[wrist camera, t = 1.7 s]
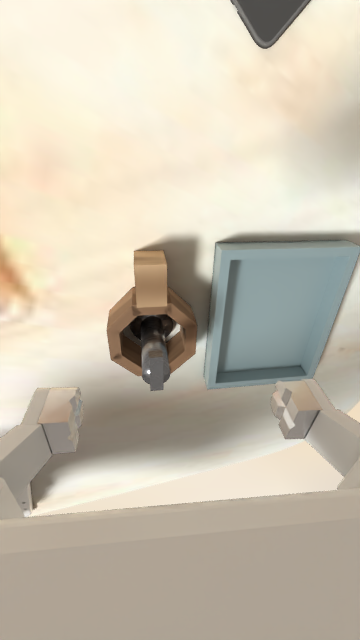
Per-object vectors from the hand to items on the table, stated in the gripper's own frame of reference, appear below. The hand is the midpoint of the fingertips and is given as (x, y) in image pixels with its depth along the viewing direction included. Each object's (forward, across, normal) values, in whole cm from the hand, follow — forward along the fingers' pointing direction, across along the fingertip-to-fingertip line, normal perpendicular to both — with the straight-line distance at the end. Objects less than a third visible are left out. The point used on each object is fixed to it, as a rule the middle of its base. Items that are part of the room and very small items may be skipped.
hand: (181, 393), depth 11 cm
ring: (+20, -1, -8) cm, 21 cm away
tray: (+20, +14, -10) cm, 26 cm away
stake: (+20, -1, -10) cm, 22 cm away
